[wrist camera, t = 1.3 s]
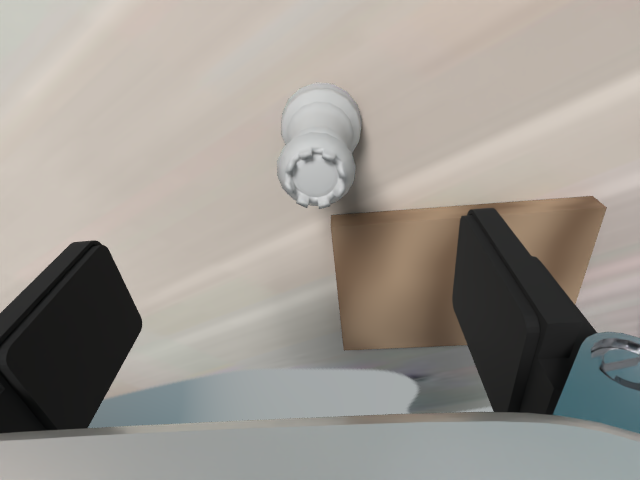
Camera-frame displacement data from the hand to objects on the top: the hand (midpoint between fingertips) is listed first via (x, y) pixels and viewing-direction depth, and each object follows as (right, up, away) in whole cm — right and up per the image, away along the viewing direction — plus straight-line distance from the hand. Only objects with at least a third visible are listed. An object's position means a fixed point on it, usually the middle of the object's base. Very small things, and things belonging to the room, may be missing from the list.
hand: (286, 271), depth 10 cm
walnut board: (+10, -2, +17) cm, 20 cm away
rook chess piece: (+1, +8, +12) cm, 14 cm away
